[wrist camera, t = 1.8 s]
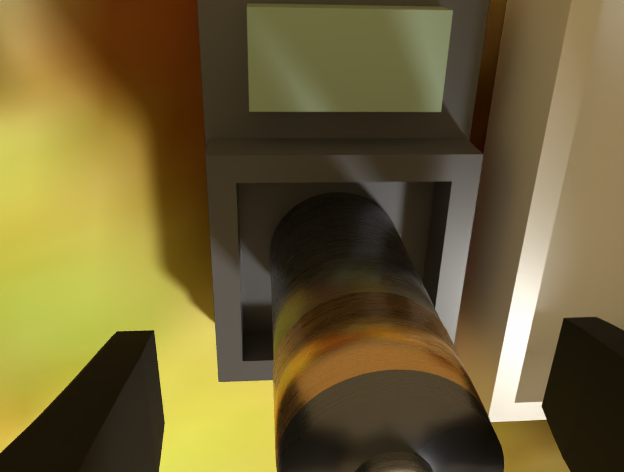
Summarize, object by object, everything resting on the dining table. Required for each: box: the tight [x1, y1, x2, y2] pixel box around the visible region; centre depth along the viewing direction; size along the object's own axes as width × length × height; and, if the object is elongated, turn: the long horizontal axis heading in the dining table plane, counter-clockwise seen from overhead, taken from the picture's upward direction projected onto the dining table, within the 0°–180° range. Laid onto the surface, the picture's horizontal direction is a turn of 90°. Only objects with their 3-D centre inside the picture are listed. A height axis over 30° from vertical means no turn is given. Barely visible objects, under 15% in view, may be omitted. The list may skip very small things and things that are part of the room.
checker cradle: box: [197, 0, 490, 382], centre depth 14 cm, size 9×6×2 cm, turn 179°
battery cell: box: [270, 192, 504, 472], centre depth 11 cm, size 3×3×8 cm
